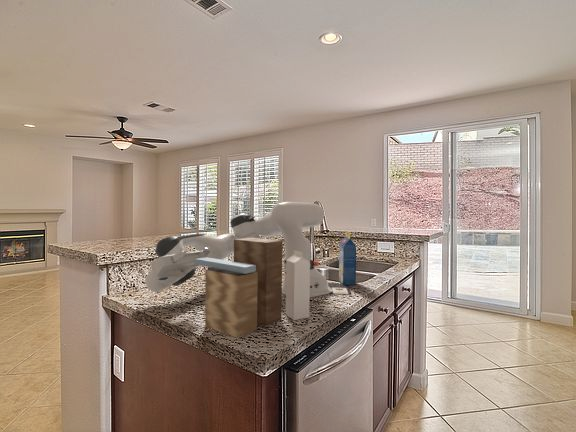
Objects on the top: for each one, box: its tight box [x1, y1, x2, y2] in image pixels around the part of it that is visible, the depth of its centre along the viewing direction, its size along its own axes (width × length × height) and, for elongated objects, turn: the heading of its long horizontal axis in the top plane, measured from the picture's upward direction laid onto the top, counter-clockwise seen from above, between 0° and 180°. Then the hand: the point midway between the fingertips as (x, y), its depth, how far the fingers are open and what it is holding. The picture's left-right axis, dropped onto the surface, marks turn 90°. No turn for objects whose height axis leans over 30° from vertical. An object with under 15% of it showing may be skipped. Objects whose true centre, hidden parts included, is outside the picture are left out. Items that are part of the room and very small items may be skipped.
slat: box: [195, 257, 256, 274], centre depth 96 cm, size 22×4×2 cm, turn 55°
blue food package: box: [338, 231, 357, 285], centre depth 153 cm, size 6×12×25 cm, turn 0°
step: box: [204, 267, 258, 339], centre depth 95 cm, size 14×8×18 cm, turn 55°
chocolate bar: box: [327, 282, 352, 295], centre depth 142 cm, size 9×1×18 cm
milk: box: [285, 250, 310, 321], centre depth 106 cm, size 6×6×22 cm
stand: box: [233, 237, 283, 328], centre depth 103 cm, size 14×8×26 cm, turn 55°
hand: (197, 251), depth 104 cm, fingers open, 8 cm apart
